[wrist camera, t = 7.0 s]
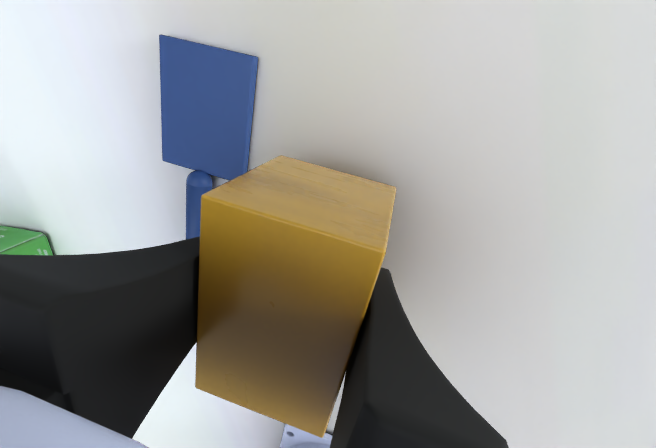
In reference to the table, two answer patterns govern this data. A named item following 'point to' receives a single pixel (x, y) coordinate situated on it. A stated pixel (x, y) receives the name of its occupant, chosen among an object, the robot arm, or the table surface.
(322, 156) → the table surface
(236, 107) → the spatula
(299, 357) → the block
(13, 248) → the ink box
